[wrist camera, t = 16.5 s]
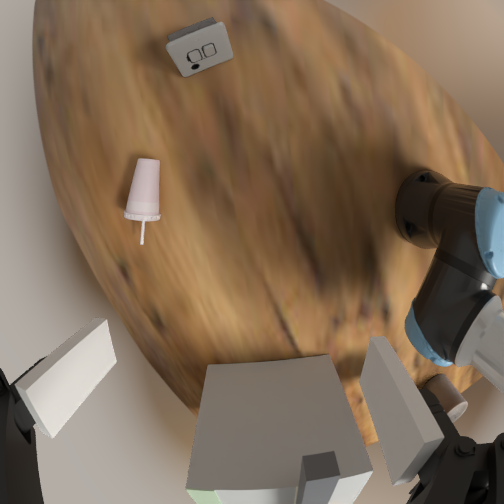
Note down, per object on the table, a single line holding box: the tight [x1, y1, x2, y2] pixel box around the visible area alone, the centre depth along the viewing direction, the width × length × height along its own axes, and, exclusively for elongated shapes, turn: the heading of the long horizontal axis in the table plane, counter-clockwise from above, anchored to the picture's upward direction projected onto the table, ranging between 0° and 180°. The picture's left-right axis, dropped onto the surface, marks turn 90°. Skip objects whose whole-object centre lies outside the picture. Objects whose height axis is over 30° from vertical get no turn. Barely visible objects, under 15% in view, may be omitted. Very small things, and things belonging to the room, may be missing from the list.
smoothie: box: [124, 158, 161, 245], centre depth 42 cm, size 6×6×14 cm
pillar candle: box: [422, 374, 468, 423], centre depth 53 cm, size 10×10×15 cm
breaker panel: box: [186, 354, 373, 504], centre depth 42 cm, size 17×26×30 cm, turn 95°
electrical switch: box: [165, 17, 233, 77], centre depth 34 cm, size 9×5×9 cm, turn 112°
